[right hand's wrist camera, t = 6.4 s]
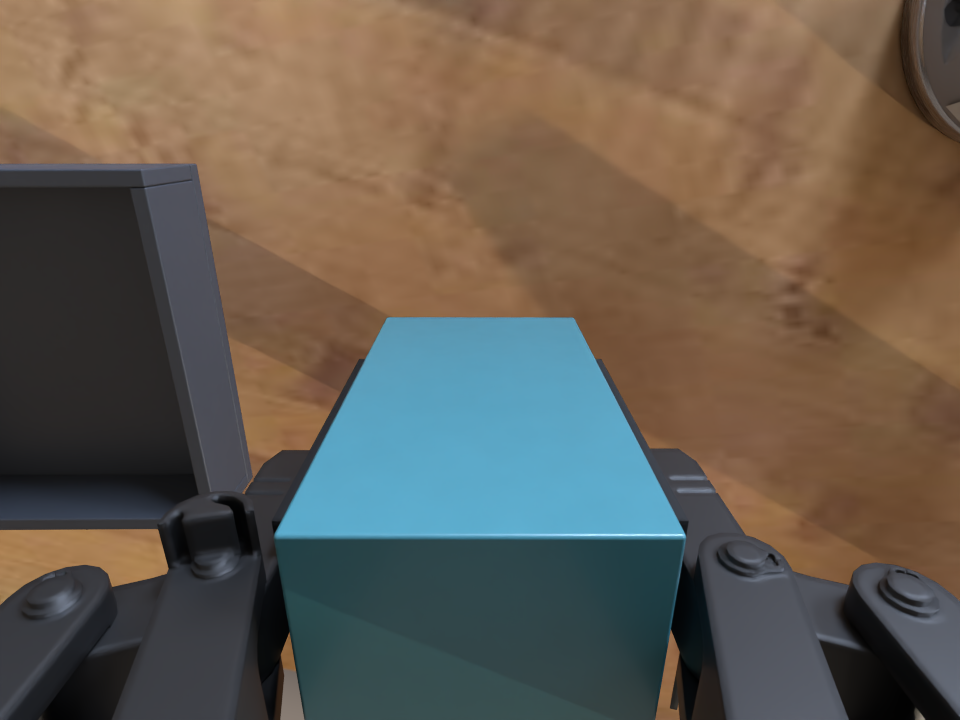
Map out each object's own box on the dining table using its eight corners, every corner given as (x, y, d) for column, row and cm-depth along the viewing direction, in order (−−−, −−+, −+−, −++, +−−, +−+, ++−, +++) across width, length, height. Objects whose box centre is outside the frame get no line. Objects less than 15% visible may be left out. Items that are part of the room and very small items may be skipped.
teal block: (386, 316, 14) (271, 535, 6) (574, 316, 14) (688, 536, 6) (396, 476, 16) (316, 800, 8) (563, 476, 16) (642, 800, 8)
